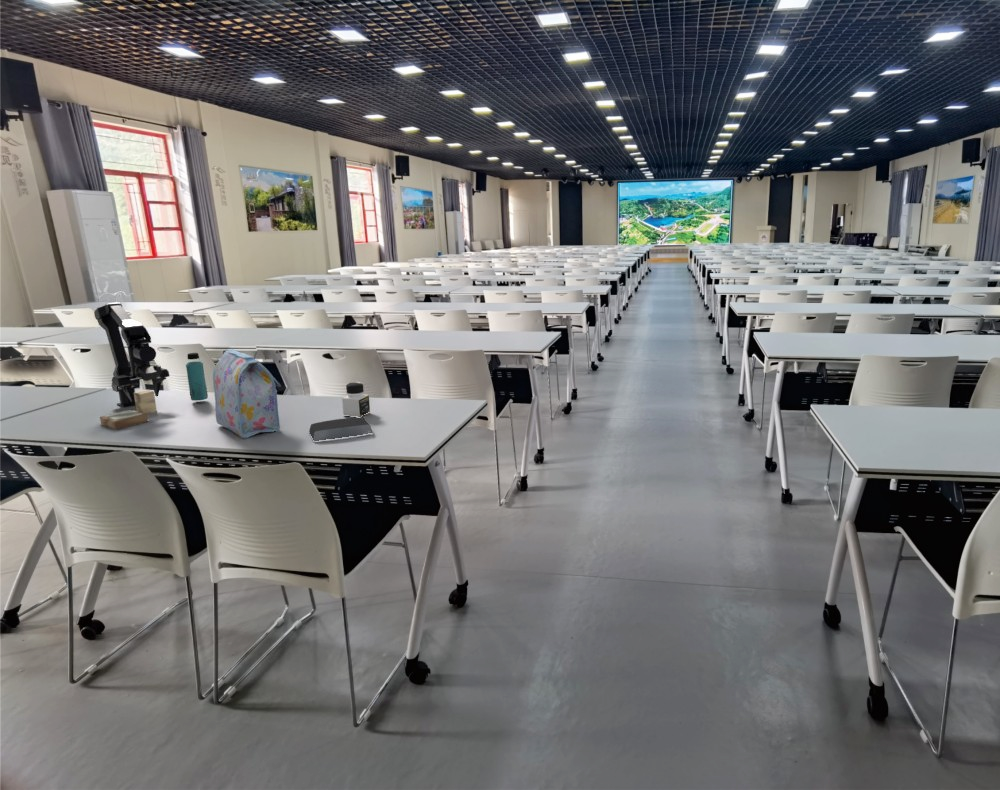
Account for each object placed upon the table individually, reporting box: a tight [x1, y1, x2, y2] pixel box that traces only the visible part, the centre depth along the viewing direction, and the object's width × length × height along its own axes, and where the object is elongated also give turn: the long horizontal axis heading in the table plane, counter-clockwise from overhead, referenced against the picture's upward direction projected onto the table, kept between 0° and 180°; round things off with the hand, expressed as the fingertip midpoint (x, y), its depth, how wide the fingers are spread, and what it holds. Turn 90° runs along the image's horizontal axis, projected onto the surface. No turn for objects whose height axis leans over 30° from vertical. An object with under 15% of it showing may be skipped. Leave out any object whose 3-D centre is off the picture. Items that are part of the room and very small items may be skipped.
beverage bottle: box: [185, 352, 209, 402], centre depth 258 cm, size 6×7×20 cm
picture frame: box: [99, 409, 149, 430], centre depth 233 cm, size 11×11×3 cm
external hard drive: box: [308, 416, 374, 441], centre depth 217 cm, size 13×19×4 cm
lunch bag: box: [212, 348, 282, 439], centre depth 222 cm, size 22×17×26 cm
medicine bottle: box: [341, 381, 371, 417], centre depth 237 cm, size 7×7×12 cm
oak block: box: [134, 389, 158, 415], centre depth 247 cm, size 5×5×8 cm
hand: (144, 398), depth 246 cm, fingers open, 9 cm apart
